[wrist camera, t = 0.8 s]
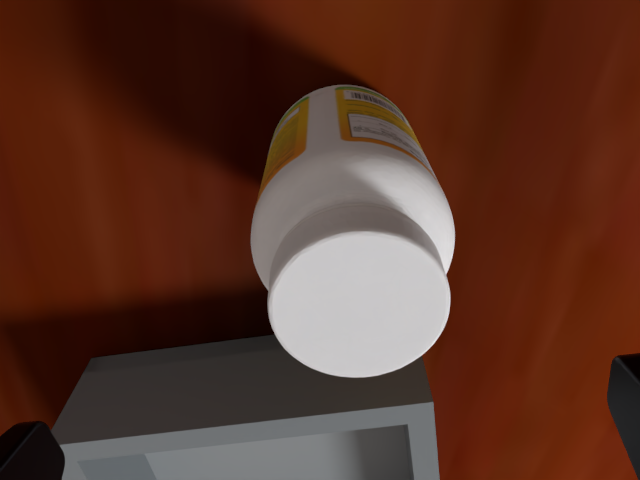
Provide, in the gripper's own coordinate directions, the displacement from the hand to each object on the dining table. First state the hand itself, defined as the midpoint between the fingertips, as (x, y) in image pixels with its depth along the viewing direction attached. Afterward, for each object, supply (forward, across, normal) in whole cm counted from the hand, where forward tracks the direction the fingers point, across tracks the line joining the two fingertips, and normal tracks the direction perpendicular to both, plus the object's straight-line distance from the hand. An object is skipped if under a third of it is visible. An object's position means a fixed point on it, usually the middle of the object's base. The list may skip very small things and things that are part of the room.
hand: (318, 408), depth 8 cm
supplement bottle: (+13, -1, +1) cm, 13 cm away
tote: (+13, +5, +16) cm, 21 cm away
